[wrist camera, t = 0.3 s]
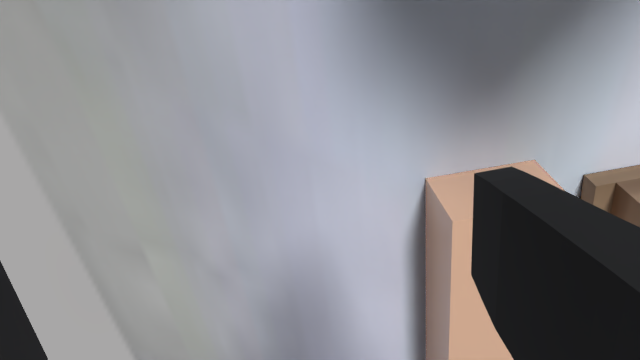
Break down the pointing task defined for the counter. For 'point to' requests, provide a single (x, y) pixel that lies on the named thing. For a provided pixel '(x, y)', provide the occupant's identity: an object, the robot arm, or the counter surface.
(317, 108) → the counter surface
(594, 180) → the brown wooden stand
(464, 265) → the clay strip
